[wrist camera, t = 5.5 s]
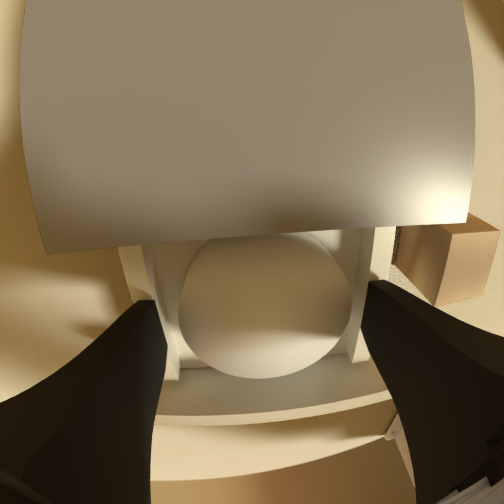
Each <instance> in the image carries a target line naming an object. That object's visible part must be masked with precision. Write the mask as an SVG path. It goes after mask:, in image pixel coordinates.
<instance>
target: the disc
mask: <svg viewBox="0 0 504 504" xmlns="http://www.w3.org/2000/svg"><path fill="white" fill-rule="evenodd" d="M351 307H352V298H351V292H350V287H349V284H348V282H347V279H346V277H345V275H344V274H343V272H342V270H341V269H340V267H339V266H338V264H337V263H336V261H335V260H334V259H333V257H332V256H331V254H330V253H329V251H328V250H327V249H326V247H325V246H324V245H323V244H322V242H321V241H319V240H318V239H317V238H316V237H315V236H314V235H312V234H311V233H309V232H295V233H281V234H267V235H254V236H241V237H228V238H215V239H209V240H208V241H207V242H206V243H205V244H204V245H203V246H202V247H201V248H200V249H199V251H198V252H197V253H196V254H195V256H194V258H193V259H192V261H191V263H190V265H189V268H188V270H187V273H186V277H185V281H184V285H183V289H182V293H181V297H180V301H179V305H178V321H179V327H180V330H181V333H182V336H183V338H184V340H185V342H186V343H187V345H188V346H189V348H190V349H191V350H192V351H193V353H194V354H195V355H196V356H197V357H198V358H200V359H201V360H202V361H203V362H205V363H206V364H208V365H209V366H211V367H213V368H215V369H217V370H219V371H221V372H224V373H226V374H230V375H233V376H237V377H243V378H253V379H265V378H274V377H280V376H284V375H288V374H291V373H294V372H297V371H299V370H302V369H304V368H306V367H308V366H310V365H312V364H313V363H315V362H316V361H318V360H319V359H321V358H322V357H323V356H324V355H326V354H327V353H328V352H329V351H330V350H331V349H332V348H333V347H334V346H335V344H336V343H337V342H338V341H339V339H340V338H341V336H342V334H343V333H344V331H345V329H346V327H347V324H348V321H349V318H350V314H351Z"/></svg>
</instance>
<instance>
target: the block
mask: <svg viewBox="0 0 504 504" xmlns="http://www.w3.org/2000/svg"><path fill="white" fill-rule="evenodd" d="M499 234H500V230H498V229H496V228H495V227H493V226H491V225H490V224H488V223H486V222H485V221H483V220H481V219H479V218H477V217H476V216H474V215H472V214H470V213H468V214H467V219H466V223H450V224H429V225H409V226H401V232H400V239H399V246H398V252H397V259H396V264H395V266H396V267H397V268H398V269H399V270H400V271H401V272H402V273H403V274H404V275H405V276H406V277H407V278H408V279H409V280H410V281H411V282H412V283H413V285H414V286H415V287H416V288H417V289H418V290H419V291H420V292H421V293H422V294H423V295H424V296H425V297H426V299H427V300H428V301H429V302H430V303H431V304H432V305H433V306H434V307H437V306H442V305H446V304H450V303H454V302H459V301H463V300H466V299H470V298H474V297H478V296H482V294H483V291H484V288H485V285H486V282H487V279H488V276H489V273H490V269H491V266H492V262H493V259H494V255H495V251H496V247H497V243H498V239H499Z"/></svg>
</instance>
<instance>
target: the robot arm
mask: <svg viewBox="0 0 504 504" xmlns="http://www.w3.org/2000/svg"><path fill="white" fill-rule="evenodd" d="M360 329H361V332H362V335H363V338H364V341H365V343H366V346H367V349H368V351H369V353H370V355H371V357H372V359H373V361H374V363H375V365H376V367H377V369H378V371H379V373H380V375H381V377H382V379H383V381H384V383H385V385H386V387H387V389H388V391H389V393H390V395H391V397H392V399H393V401H394V404H395V406H396V408H397V411H398V413H397V415H396V417H395V419H394V421H393V422H392V424H391V426H390V428H389V429H388V431H387V433H386V434H385V436H384V438H385V440H390V439H393V438H395V440H396V442H397V445H398V447H399V450H400V452H401V455H402V457H403V460H404V462H405V465H406V467H407V470H408V472H409V475H410V478H411V480H412V482H413V485H414V487H415V489H416V502H417V504H504V337H502V336H499V335H496V334H492V333H490V332H487V331H484V330H482V329H479V328H477V327H474V326H472V325H470V324H467V323H465V322H463V321H461V320H459V319H457V318H455V317H453V316H451V315H449V314H447V313H445V312H443V311H441V310H439V309H437V308H436V307H434V306H432V305H430V304H428V303H427V302H425V301H423V300H421V299H420V298H418V297H416V296H414V295H413V294H411V293H409V292H407V291H406V290H404V289H402V288H400V287H398V286H397V285H395V284H393V283H391V282H389V281H386V280H384V279H383V280H375V281H368V287H367V293H366V299H365V305H364V310H363V316H362V321H361V326H360ZM167 350H168V344H167V341H166V338H165V334H164V331H163V327H162V324H161V321H160V317H159V313H158V310H157V306H156V302H155V300H138V301H137V302H135V303H134V304H133V305H132V306H131V307H130V308H129V309H127V310H126V311H125V312H124V313H123V314H122V315H121V316H120V317H119V318H118V319H117V320H116V321H115V322H114V323H113V324H112V325H111V326H110V327H109V328H108V329H107V330H105V331H104V332H103V333H102V334H101V335H100V336H99V337H98V338H97V339H96V340H95V341H93V342H92V343H91V344H90V345H89V346H88V347H87V348H85V349H84V350H83V351H82V352H81V353H80V354H79V355H77V356H76V357H75V358H74V359H72V360H71V361H70V362H69V363H67V364H66V365H64V366H63V367H62V368H60V369H59V370H58V371H56V372H55V373H53V374H52V375H50V376H49V377H47V378H46V379H44V380H42V381H41V382H39V383H37V384H36V385H34V386H33V387H31V388H29V389H28V390H26V391H24V392H22V393H20V394H18V395H16V396H14V397H12V398H10V399H8V400H6V401H3V402H1V403H0V504H151V495H150V494H151V493H150V462H151V444H152V433H153V426H154V421H155V416H156V411H157V407H158V402H159V398H160V393H161V389H162V384H163V380H164V375H165V371H166V361H167Z"/></svg>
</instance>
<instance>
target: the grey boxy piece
mask: <svg viewBox="0 0 504 504" xmlns="http://www.w3.org/2000/svg"><path fill="white" fill-rule="evenodd" d="M19 100H20V119H21V131H22V141H23V150H24V157H25V164H26V170H27V176H28V182H29V187H30V192H31V197H32V202H33V206H34V210H35V215H36V219H37V223H38V226H39V230H40V234H41V237H42V241H43V244H44V248H45V251H46V254H54V253H64V252H73V251H83V250H93V249H103V248H114V247H124V246H135V245H146V244H157V243H168V242H179V241H191V240H203V239H215V238H228V237H241V236H254V235H267V234H281V233H295V232H309V231H324V230H340V229H356V228H373V227H391V226H409V225H429V224H450V223H466V219H467V214H468V207H469V200H470V193H471V185H472V175H473V164H474V149H475V92H474V77H473V67H472V58H471V50H470V43H469V37H468V31H467V26H466V21H465V16H464V11H463V7H462V3H461V0H26V6H25V12H24V19H23V27H22V36H21V48H20V66H19Z"/></svg>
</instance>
